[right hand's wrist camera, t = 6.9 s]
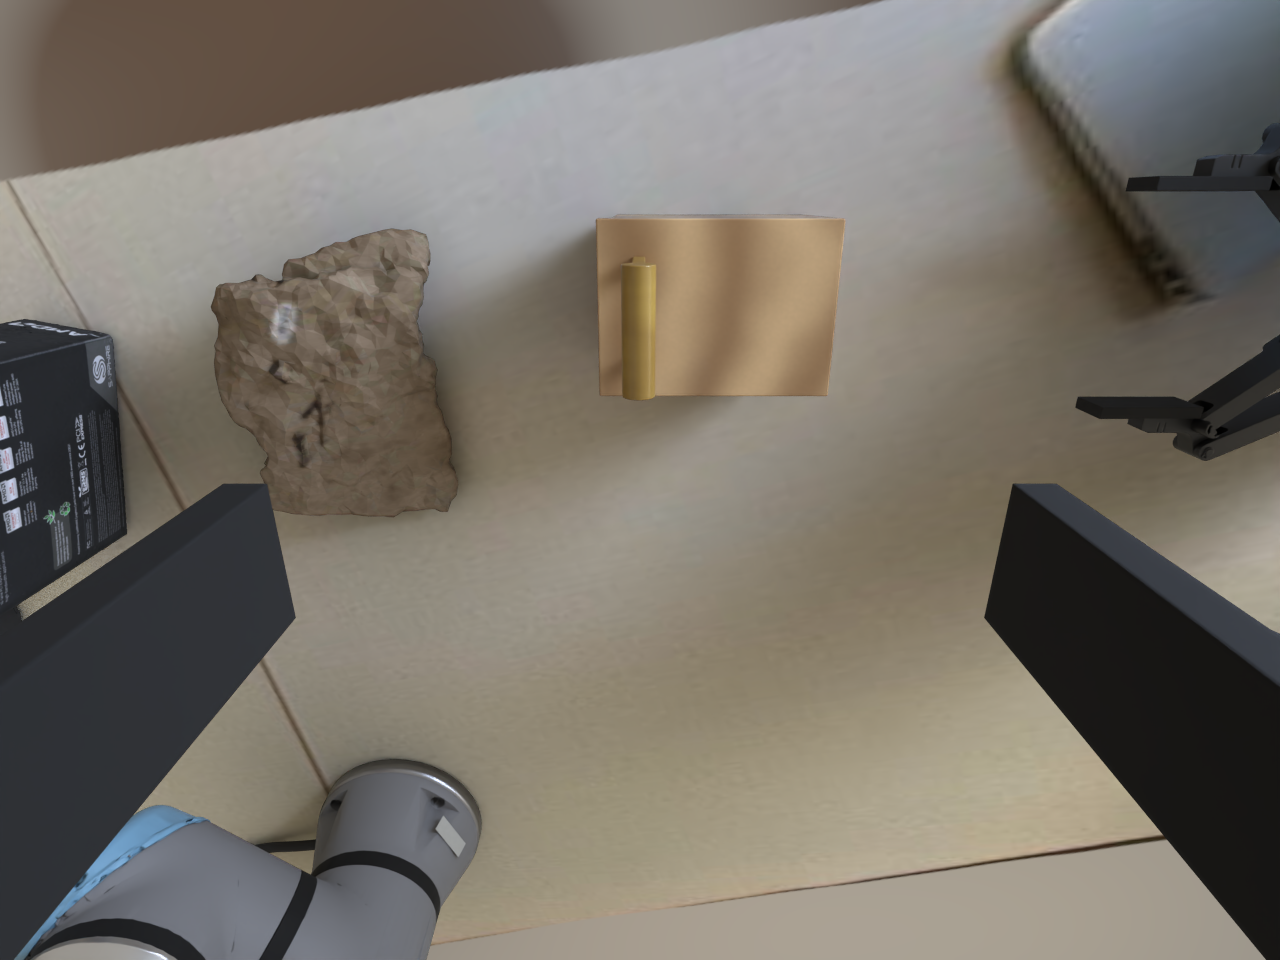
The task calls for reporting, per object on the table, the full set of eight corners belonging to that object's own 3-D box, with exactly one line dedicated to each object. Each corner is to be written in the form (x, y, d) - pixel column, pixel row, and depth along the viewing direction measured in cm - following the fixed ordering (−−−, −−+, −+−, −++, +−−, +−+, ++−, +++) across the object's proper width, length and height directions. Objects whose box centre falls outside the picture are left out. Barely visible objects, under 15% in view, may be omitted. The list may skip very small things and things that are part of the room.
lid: (600, 391, 43) (591, 436, 35) (596, 217, 39) (585, 222, 31) (822, 391, 43) (865, 436, 35) (840, 218, 39) (892, 222, 31)
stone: (191, 226, 46) (160, 248, 41) (427, 220, 49) (425, 239, 44) (273, 498, 57) (256, 542, 52) (462, 479, 60) (463, 518, 55)
